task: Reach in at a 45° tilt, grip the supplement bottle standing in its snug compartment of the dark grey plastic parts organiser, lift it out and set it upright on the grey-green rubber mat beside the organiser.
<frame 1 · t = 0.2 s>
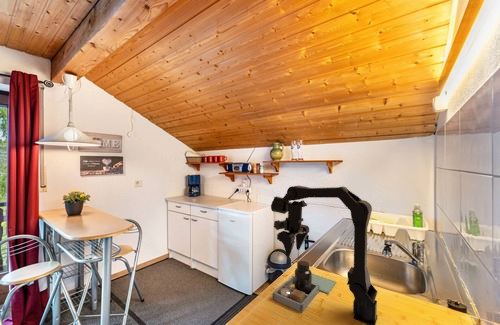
hand: (293, 252, 93), 15 cm above the countertop, tool pointing down, fingers open, 9 cm apart
parts organiser: (297, 294, 88), on the countertop
rubber mat: (319, 283, 97), on the countertop
silver round piece: (285, 298, 86), resting in parts organiser
walnut block: (297, 303, 83), resting in parts organiser
supplement bottle: (302, 293, 90), resting in parts organiser
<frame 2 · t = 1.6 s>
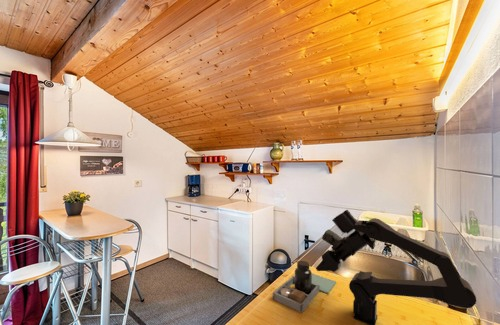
hand: (321, 265, 86), 13 cm above the countertop, tool tilted 45°, fingers open, 9 cm apart
nothing on the countertop moved.
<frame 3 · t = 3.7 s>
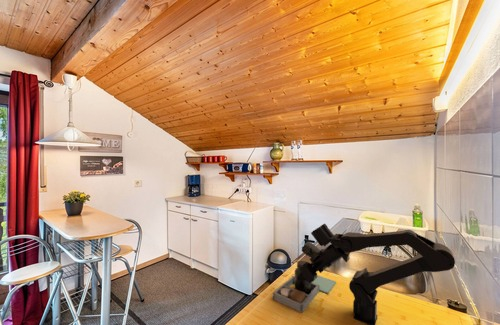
hand: (301, 275, 91), 7 cm above the countertop, tool tilted 45°, fingers closed on supplement bottle, 7 cm apart
supplement bottle: (302, 292, 90), resting in parts organiser, touching gripper
everything else where it was.
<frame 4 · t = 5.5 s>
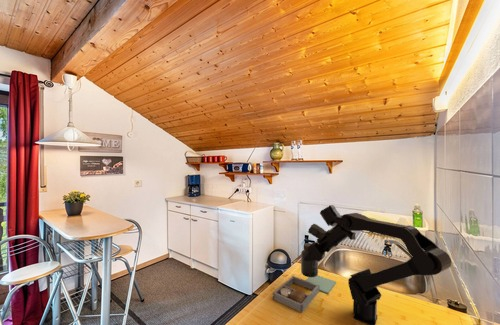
hand: (307, 256, 93), 13 cm above the countertop, tool tilted 45°, fingers closed on supplement bottle, 7 cm apart
supplement bottle: (309, 274, 92), point 6 cm above the countertop, touching gripper
everything else where it was.
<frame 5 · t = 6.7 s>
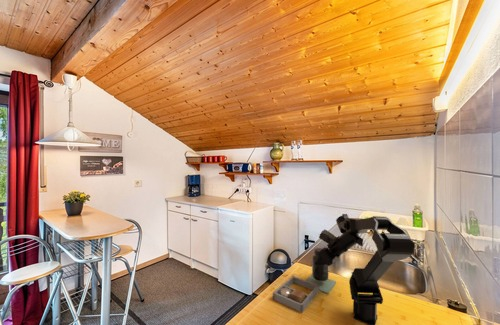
hand: (318, 261, 98), 10 cm above the countertop, tool tilted 45°, fingers closed on supplement bottle, 7 cm apart
supplement bottle: (320, 277, 97), point 3 cm above the countertop, touching gripper
everything else where it was.
when the fingers open (8 cm above the countertop, at t = 7.5 s): supplement bottle stays where it is, resting on rubber mat.
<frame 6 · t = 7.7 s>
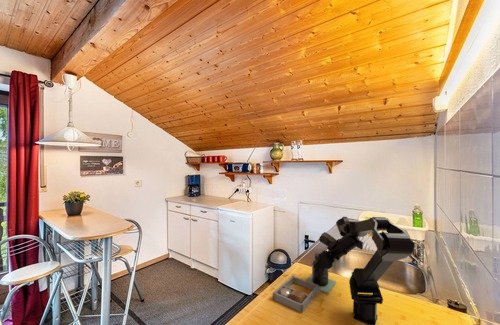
hand: (318, 263, 98), 9 cm above the countertop, tool tilted 45°, fingers open, 9 cm apart
supplement bottle: (319, 282, 97), resting on rubber mat
everything else where it was.
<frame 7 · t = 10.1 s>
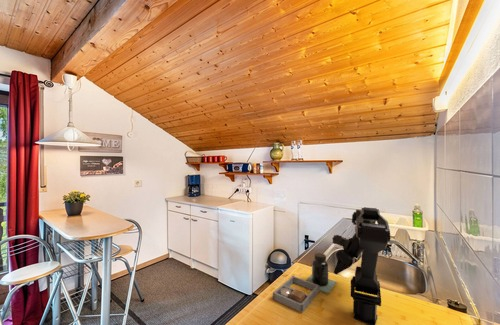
hand: (337, 271, 90), 9 cm above the countertop, tool tilted 30°, fingers open, 9 cm apart
nothing on the countertop moved.
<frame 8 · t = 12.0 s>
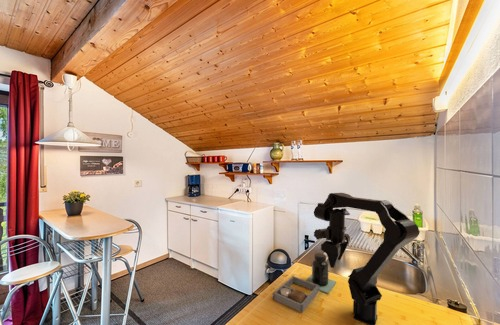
hand: (335, 263, 88), 13 cm above the countertop, tool pointing down, fingers open, 9 cm apart
nothing on the countertop moved.
at the end: supplement bottle inside the target area on the rubber mat (0.1 cm from its centre), point 0.4 cm above the rubber mat's base; supplement bottle tilted 0°; the gripper is holding nothing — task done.
